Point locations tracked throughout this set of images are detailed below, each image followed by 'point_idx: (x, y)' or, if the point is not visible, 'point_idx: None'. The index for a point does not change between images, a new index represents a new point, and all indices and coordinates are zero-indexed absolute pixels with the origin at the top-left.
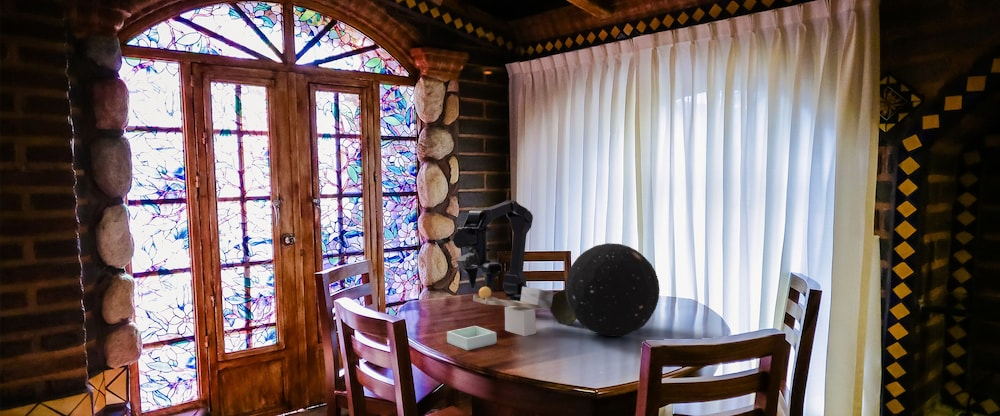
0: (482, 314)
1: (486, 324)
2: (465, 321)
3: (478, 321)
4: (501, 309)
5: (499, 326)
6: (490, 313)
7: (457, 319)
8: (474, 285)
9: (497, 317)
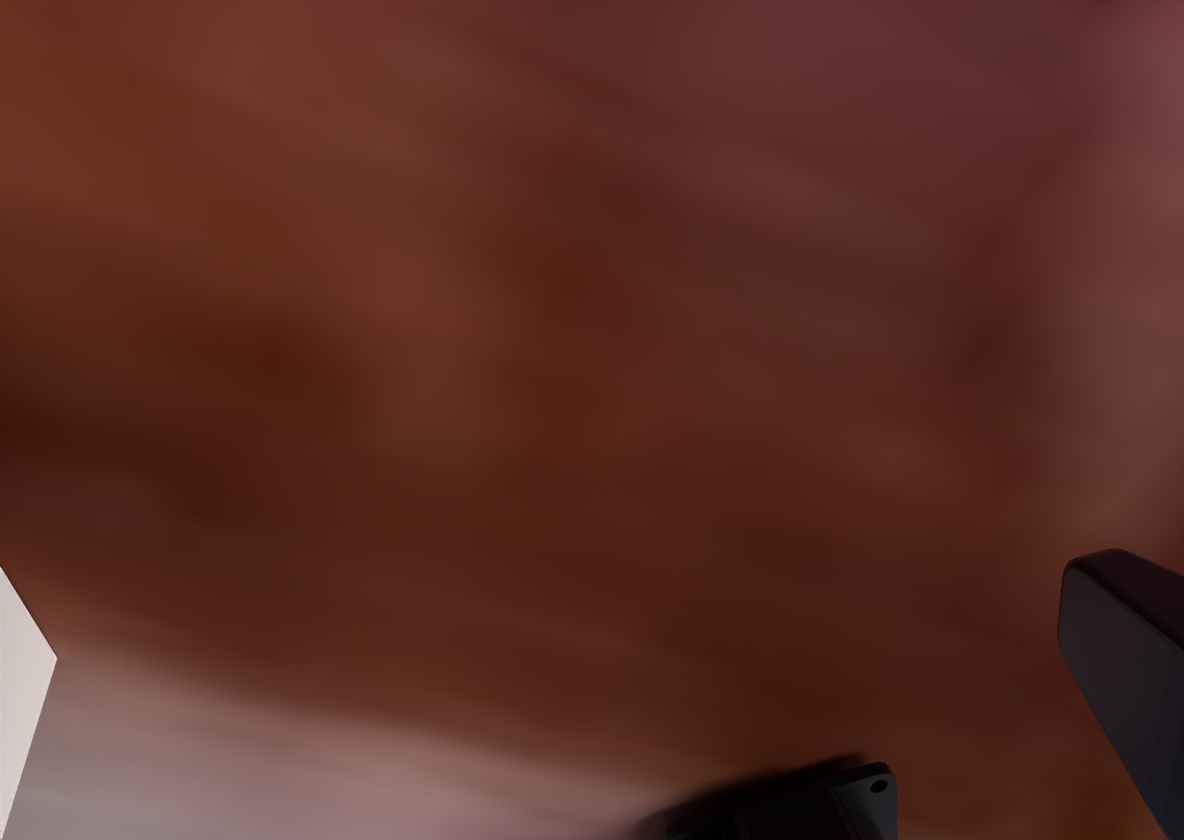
0: (1110, 487)
1: (513, 335)
2: (931, 81)
3: (782, 289)
4: None
5: (271, 473)
6: None
7: (1157, 3)
8: (1108, 735)
9: (815, 607)
